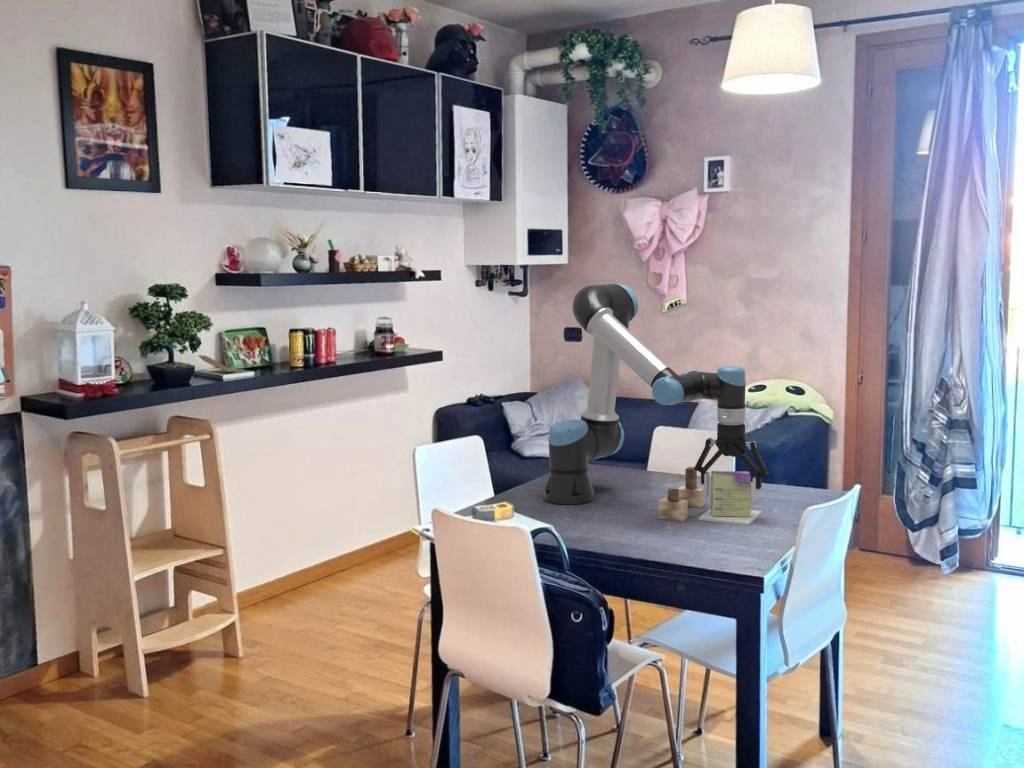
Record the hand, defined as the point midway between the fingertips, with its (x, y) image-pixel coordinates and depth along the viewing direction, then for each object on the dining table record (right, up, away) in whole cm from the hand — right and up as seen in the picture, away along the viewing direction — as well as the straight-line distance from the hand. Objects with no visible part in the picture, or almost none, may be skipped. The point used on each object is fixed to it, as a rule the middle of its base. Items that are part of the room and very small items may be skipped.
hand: (730, 498), depth 275 cm
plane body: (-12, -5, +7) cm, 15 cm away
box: (0, -5, +1) cm, 5 cm away
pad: (0, -5, +1) cm, 5 cm away
